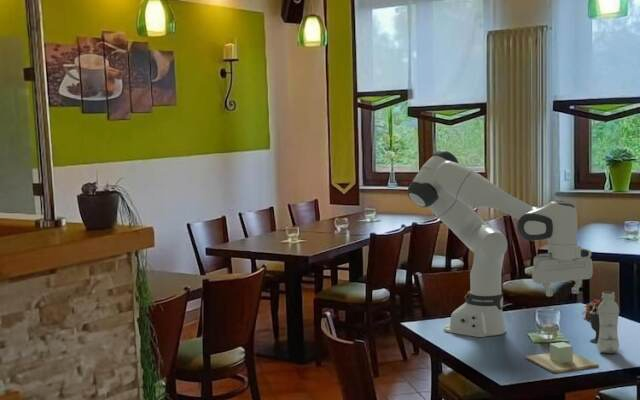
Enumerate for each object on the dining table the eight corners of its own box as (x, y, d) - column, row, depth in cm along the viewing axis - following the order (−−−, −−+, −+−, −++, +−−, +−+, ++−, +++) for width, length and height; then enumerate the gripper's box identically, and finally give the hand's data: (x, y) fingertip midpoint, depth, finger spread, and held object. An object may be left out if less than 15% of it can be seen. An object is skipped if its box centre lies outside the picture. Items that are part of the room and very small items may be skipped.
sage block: (558, 363, 243) (558, 347, 242) (549, 358, 247) (549, 343, 247) (572, 361, 244) (572, 346, 243) (563, 357, 249) (563, 341, 248)
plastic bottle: (597, 349, 259) (597, 290, 257) (619, 350, 256) (619, 291, 254) (596, 354, 253) (596, 294, 251) (619, 356, 250) (619, 295, 248)
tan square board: (553, 373, 236) (553, 370, 236) (525, 358, 251) (525, 356, 251) (598, 366, 240) (598, 364, 240) (568, 352, 256) (568, 350, 256)
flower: (613, 312, 298) (601, 295, 300) (612, 313, 290) (599, 295, 292) (591, 325, 301) (579, 308, 303) (589, 326, 292) (577, 308, 295)
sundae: (609, 344, 263) (609, 301, 262) (588, 344, 265) (588, 300, 263) (606, 339, 270) (606, 296, 268) (586, 338, 271) (586, 296, 270)
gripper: (539, 255, 240) (539, 299, 241) (595, 251, 246) (595, 293, 247) (528, 252, 246) (528, 295, 247) (583, 248, 252) (583, 289, 253)
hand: (562, 294), depth 247 cm, fingers open, 8 cm apart
